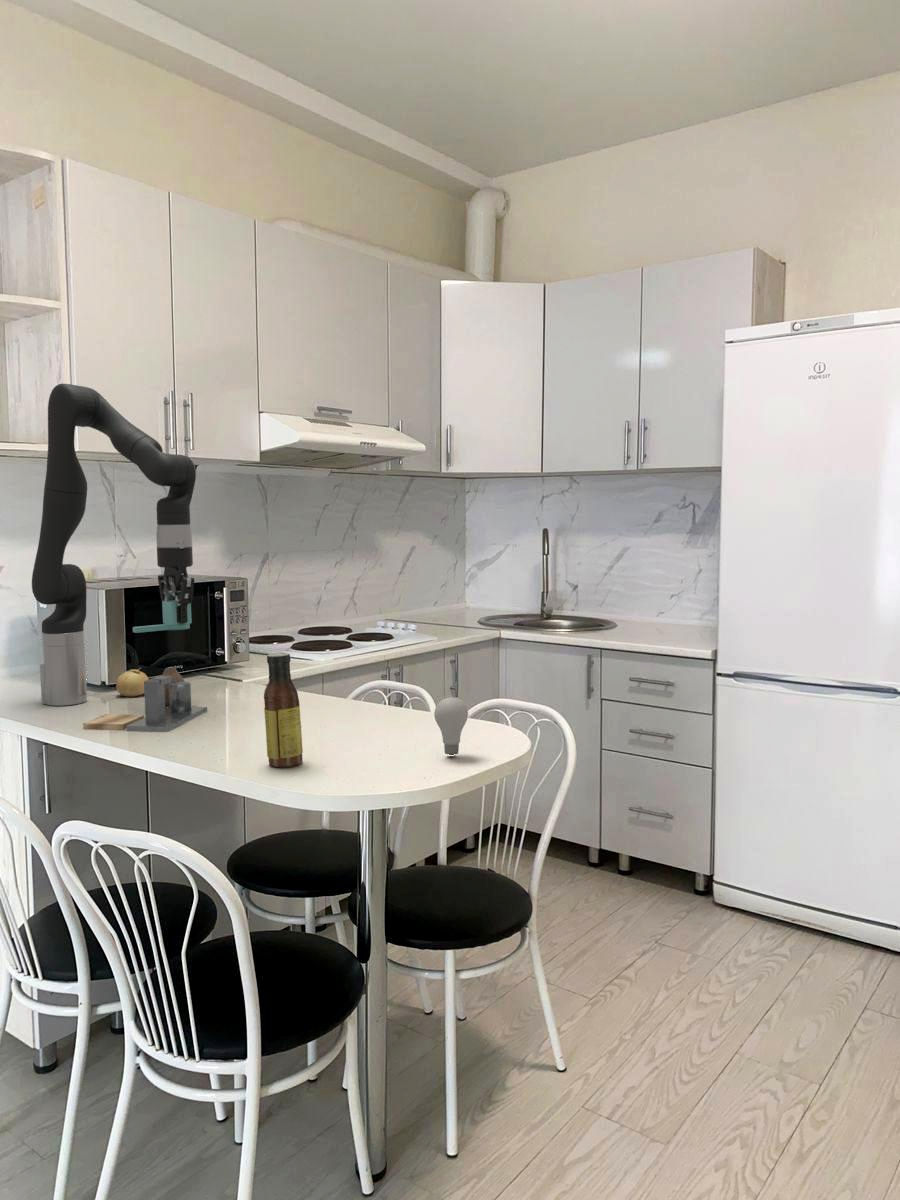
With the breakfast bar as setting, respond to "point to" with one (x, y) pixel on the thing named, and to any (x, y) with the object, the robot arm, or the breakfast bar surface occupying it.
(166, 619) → the teal block with handle
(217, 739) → the breakfast bar surface
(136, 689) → the onion
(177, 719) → the post
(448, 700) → the lightbulb
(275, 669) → the sauce bottle
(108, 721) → the wooden coaster
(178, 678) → the vase
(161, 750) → the breakfast bar surface
